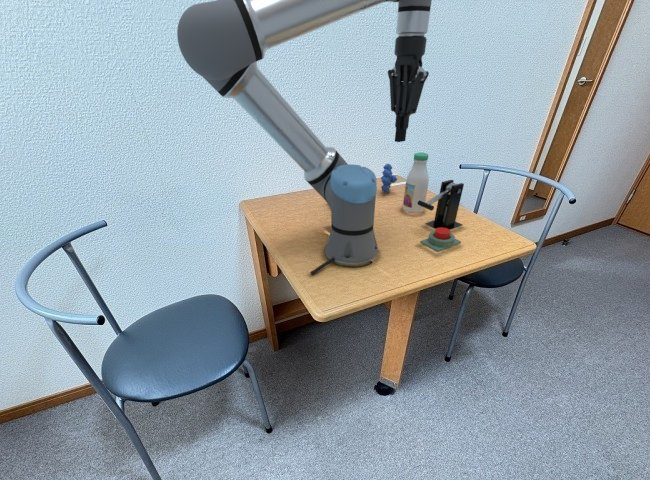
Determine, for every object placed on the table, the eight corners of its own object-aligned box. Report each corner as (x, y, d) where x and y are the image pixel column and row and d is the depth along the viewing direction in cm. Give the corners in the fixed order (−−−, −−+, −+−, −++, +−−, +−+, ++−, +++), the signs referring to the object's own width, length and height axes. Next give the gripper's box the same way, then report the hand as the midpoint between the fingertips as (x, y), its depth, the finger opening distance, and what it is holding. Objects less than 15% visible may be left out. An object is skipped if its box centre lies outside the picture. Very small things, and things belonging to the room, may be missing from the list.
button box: (437, 255, 94) (439, 245, 92) (419, 245, 99) (420, 235, 97) (460, 246, 98) (463, 236, 96) (441, 237, 103) (444, 227, 101)
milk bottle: (422, 208, 122) (431, 151, 110) (424, 216, 116) (435, 157, 104) (401, 207, 123) (408, 150, 111) (402, 215, 117) (410, 156, 105)
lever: (430, 213, 97) (430, 206, 95) (417, 207, 101) (417, 200, 99) (461, 192, 100) (462, 185, 99) (447, 187, 104) (447, 180, 102)
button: (442, 241, 94) (443, 235, 93) (430, 236, 97) (432, 229, 96) (452, 237, 96) (454, 231, 95) (441, 232, 99) (442, 226, 98)
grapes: (394, 198, 130) (397, 167, 123) (377, 197, 131) (379, 166, 124) (397, 189, 139) (400, 159, 131) (381, 188, 140) (384, 158, 133)
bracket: (442, 235, 104) (451, 189, 95) (423, 226, 109) (431, 182, 100) (462, 228, 108) (474, 183, 99) (444, 220, 114) (453, 176, 105)
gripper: (442, 35, 77) (425, 143, 91) (404, 36, 85) (394, 135, 100) (419, 34, 73) (405, 147, 88) (382, 36, 82) (375, 138, 96)
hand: (399, 141), depth 94 cm, fingers closed
